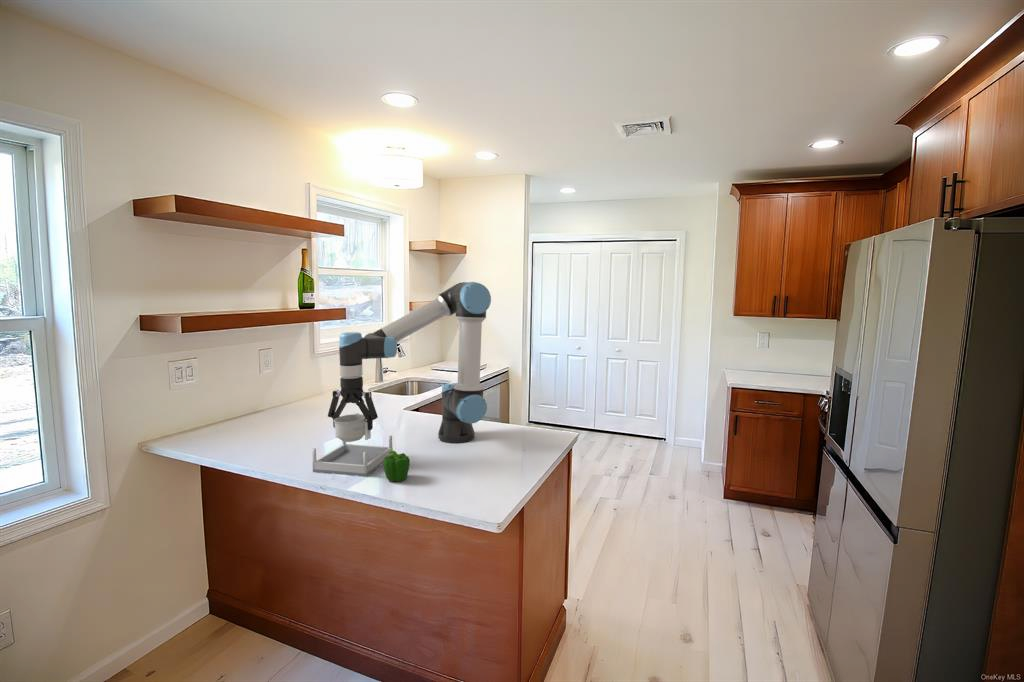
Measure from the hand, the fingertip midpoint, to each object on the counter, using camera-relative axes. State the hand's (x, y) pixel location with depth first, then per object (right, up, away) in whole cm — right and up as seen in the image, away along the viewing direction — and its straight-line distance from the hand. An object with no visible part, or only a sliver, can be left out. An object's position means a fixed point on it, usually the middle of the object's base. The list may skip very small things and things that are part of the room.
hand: (353, 437), depth 177 cm
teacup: (0, 0, 0) cm, 0 cm away
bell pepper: (+19, -11, -13) cm, 25 cm away
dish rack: (0, -10, +1) cm, 10 cm away
